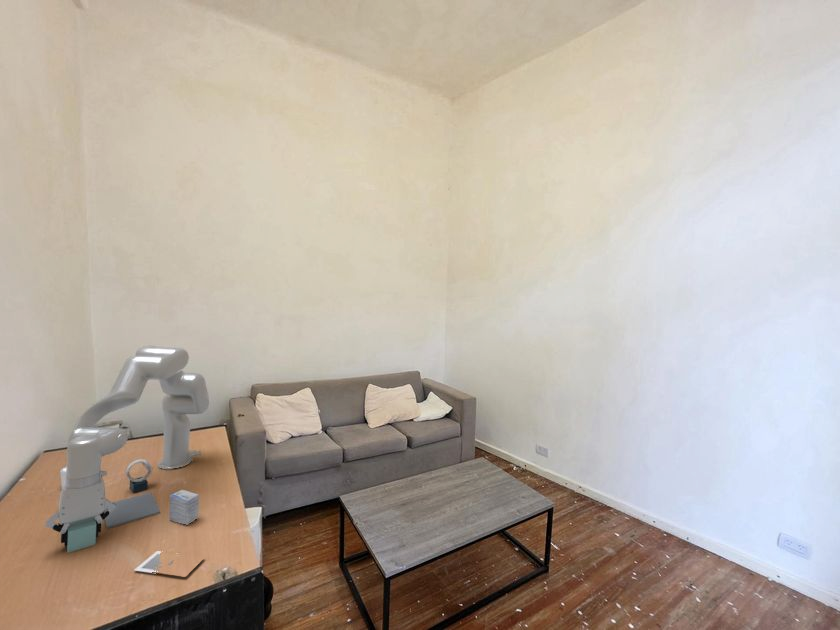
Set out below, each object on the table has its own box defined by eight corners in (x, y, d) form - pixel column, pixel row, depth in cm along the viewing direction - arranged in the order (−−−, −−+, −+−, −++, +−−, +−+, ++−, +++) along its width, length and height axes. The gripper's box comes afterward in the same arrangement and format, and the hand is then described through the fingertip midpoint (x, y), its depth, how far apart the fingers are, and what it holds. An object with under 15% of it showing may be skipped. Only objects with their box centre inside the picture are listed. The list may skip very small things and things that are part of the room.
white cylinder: (72, 491, 135) (73, 472, 135) (54, 490, 135) (54, 471, 135) (89, 482, 142) (90, 464, 142) (72, 481, 142) (72, 463, 142)
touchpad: (185, 581, 98) (185, 573, 98) (133, 574, 99) (133, 566, 99) (205, 561, 105) (205, 553, 105) (157, 554, 107) (157, 547, 107)
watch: (153, 487, 141) (154, 459, 141) (127, 495, 135) (128, 465, 135) (149, 482, 145) (150, 454, 145) (123, 489, 139) (124, 460, 138)
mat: (151, 493, 137) (151, 492, 137) (160, 513, 126) (160, 511, 126) (102, 506, 127) (102, 504, 127) (106, 528, 116) (106, 526, 116)
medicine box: (198, 519, 124) (199, 494, 123) (186, 526, 120) (187, 500, 119) (181, 513, 126) (182, 488, 126) (168, 520, 122) (169, 495, 122)
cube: (94, 534, 113) (94, 515, 113) (95, 544, 109) (96, 524, 109) (66, 542, 109) (67, 522, 109) (67, 552, 105) (68, 532, 104)
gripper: (119, 467, 117) (117, 522, 118) (41, 483, 105) (39, 545, 105) (122, 475, 112) (120, 534, 112) (41, 493, 100) (38, 559, 100)
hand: (81, 538), depth 109 cm, fingers closed on cube, 5 cm apart
